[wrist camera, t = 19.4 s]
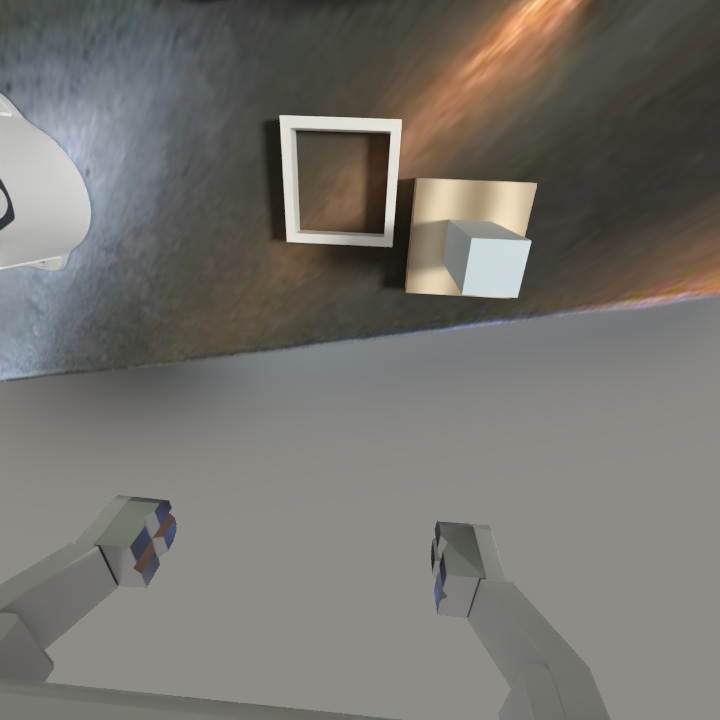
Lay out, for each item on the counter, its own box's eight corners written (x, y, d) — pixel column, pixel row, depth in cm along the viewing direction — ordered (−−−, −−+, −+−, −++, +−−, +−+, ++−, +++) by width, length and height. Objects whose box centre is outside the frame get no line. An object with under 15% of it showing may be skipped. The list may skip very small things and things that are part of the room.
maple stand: (405, 285, 45) (406, 292, 42) (415, 177, 39) (417, 178, 37) (502, 290, 44) (509, 298, 42) (527, 182, 39) (537, 183, 36)
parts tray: (291, 238, 43) (286, 241, 41) (285, 118, 38) (279, 115, 35) (392, 243, 43) (392, 247, 40) (401, 122, 37) (402, 119, 35)
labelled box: (442, 263, 40) (461, 297, 30) (448, 219, 38) (471, 238, 28) (482, 265, 40) (516, 300, 30) (491, 221, 38) (531, 240, 27)
